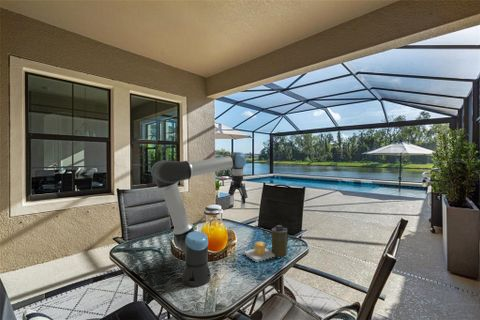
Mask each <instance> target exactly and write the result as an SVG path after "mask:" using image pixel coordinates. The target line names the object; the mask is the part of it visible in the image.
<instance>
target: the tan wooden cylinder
mask: <svg viewBox="0 0 480 320" xmlns="http://www.w3.org/2000/svg"><path fill="white" fill-rule="evenodd" d="M265 248H266V243H265V242H264V241H255V242H254V248H253V249H254V253H255V254H257V255H263V254H265Z"/></svg>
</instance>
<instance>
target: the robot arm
mask: <svg viewBox="0 0 480 320" xmlns="http://www.w3.org/2000/svg"><path fill="white" fill-rule="evenodd" d="M231 153H232V154H218V155H217V156H216V157H215V158H209V159H208V158H207V159H201V160H196V161H188V160H184V161H176V160H175V161H174V160H166V159H163V160H159V161H157V162H155V163H154V164H153V165H152V167H151V169H150V170H151V171H150V173H151V174H150V175H151V176H152V178H153V179H154V180H155V184H156V185H157V188H158V189H159V190H161V191H162V195H163V197H164V201H165V203H166V207H167V210H168V213H169V216H170V219H171V221H172V225H173V227H174V229H173V231H172V233H173V242H174V243H173V244H175V246H176V247H177V248H178V249H179V250H181V251H182V252H183V253H184V255H185V262H184V264H185V265H184V267H183V272H182V274H181V282H182V284H184V285H185V286H188V287H200V286H203V285H206V284H208V283H209V282H210V281H211V279H212V276H211V275H212V273H211V270H210V266H209V262H208V261H209V256H208V255H209V251H208V250H209V238H208V235H207V234H206V233H205V232H203V231H196V230H195V227H194V224H193V223H192V222H190V221H189V217H188V215H187V212H186V207H185V204H184V201H183V199H182V195H181V192H180V189H179V186H178V185H179V183H180V182H182V181H186V180H191V178H192V177H195V176H201V175H207V174H211V173H215V172H220V171H224V170H231V174H232V176H231V181H230V186H229V188H228V189H229V190H228V195H229V205H230V206H232V205H235V192H236V190H238V192H239V194H240V197H241V198H240V209H241V210H244V209H246V199H248V198H249V197H248V194H247V190H246V183H245V182H243V181H244V167H245V165H246V163H247V159H246V157H245V155H244V153H243V152H240V151H239V152H238V151H237V152H236V151H235V152H231Z"/></svg>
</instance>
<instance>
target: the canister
mask: <svg viewBox="0 0 480 320" xmlns="http://www.w3.org/2000/svg"><path fill="white" fill-rule="evenodd" d="M288 231H289V229H288V228H287V227H283V225H281V224H278V225H275V226H274V227H273V228H271V251H272V253H273V254H275V257H284V256H286V255H287V256H288V251H287V250H288V241H289V239H288ZM275 257H274V258H275Z"/></svg>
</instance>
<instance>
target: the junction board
mask: <svg viewBox="0 0 480 320" xmlns="http://www.w3.org/2000/svg"><path fill="white" fill-rule="evenodd" d="M243 255H244V256H245V255H246V256H245V257H246V258H248V257H249V258H248V259H250V260H251V259H252V260H251V261H253V262H254V261H255V262H254V263H256V262H258V263H260V262H259V261H261V262H264V261H267V260H266V259H268V260H270V259H269V258H271V259H273V258H272V257H274V258H275V254H273V253H272V250H270V249H269V248H266V247H265V254H263V255H257V254H255V253H254V248H253V249H252V248H251V249H249V250H245V251H243ZM263 260H264V261H263Z"/></svg>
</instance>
